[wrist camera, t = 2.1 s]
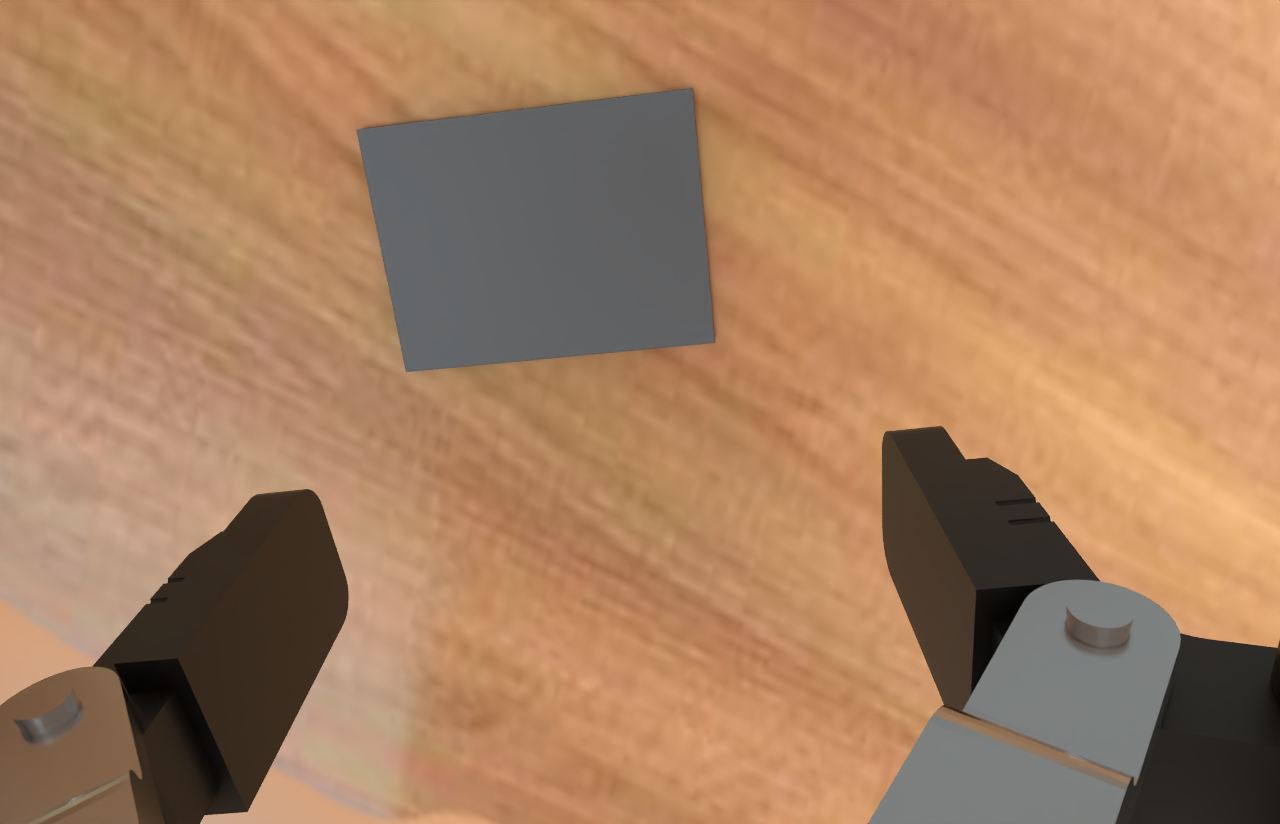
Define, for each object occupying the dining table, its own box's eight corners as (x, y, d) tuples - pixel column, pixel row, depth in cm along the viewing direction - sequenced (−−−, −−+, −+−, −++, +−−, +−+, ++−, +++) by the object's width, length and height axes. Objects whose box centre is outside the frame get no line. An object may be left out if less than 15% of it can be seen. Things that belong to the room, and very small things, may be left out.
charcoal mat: (411, 367, 34) (406, 372, 33) (362, 129, 31) (356, 129, 30) (714, 338, 33) (714, 342, 32) (692, 88, 30) (692, 88, 29)
